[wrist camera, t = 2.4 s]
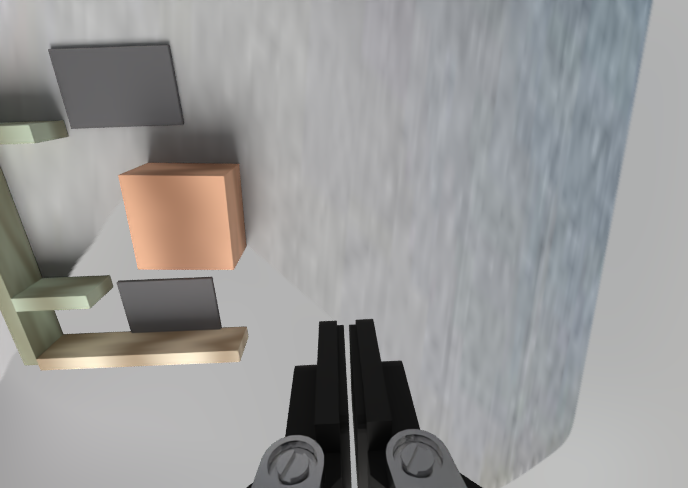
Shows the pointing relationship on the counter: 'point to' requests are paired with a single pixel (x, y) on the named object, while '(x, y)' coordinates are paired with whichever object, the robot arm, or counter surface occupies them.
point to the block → (185, 215)
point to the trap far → (170, 304)
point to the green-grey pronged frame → (81, 300)
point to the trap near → (118, 86)
